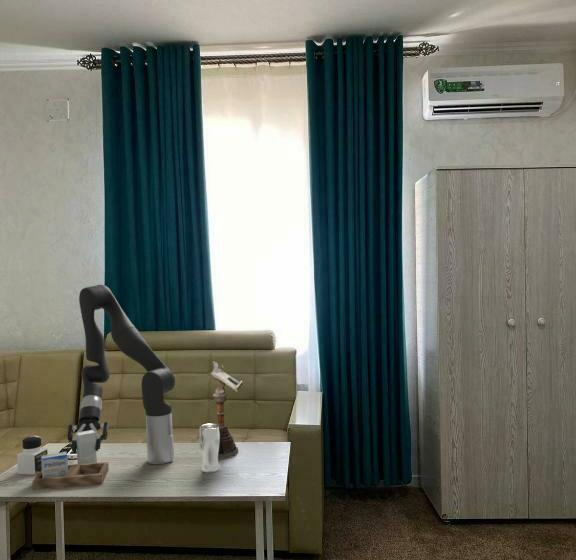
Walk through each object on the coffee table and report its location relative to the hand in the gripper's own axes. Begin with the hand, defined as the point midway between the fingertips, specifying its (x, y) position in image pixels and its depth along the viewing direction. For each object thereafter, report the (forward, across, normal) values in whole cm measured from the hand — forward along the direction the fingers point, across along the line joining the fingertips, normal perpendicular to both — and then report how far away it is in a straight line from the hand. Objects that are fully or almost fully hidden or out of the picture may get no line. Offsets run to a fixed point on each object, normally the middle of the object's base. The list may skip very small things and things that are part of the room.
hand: (85, 450), depth 196 cm
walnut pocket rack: (+12, -2, -4) cm, 13 cm away
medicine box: (+12, -8, -4) cm, 15 cm away
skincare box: (+3, 0, +5) cm, 6 cm away
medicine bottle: (+4, -18, +4) cm, 19 cm away
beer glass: (+14, +44, -5) cm, 46 cm away
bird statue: (+3, +51, +6) cm, 51 cm away
